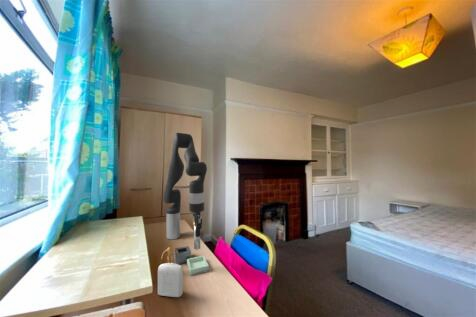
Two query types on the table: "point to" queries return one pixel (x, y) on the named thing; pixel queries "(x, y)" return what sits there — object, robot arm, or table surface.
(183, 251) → the socket block
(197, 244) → the pin
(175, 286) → the photo printer
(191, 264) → the tray
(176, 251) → the figurine
